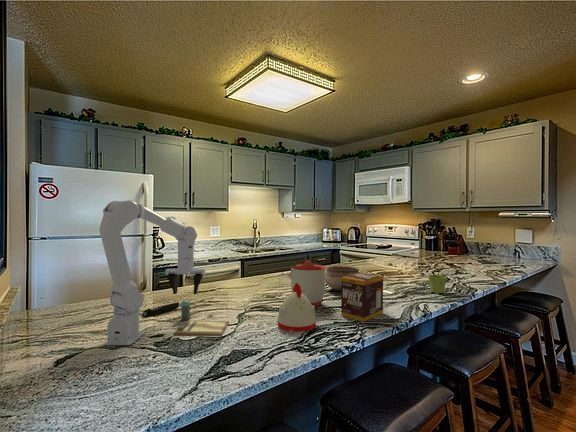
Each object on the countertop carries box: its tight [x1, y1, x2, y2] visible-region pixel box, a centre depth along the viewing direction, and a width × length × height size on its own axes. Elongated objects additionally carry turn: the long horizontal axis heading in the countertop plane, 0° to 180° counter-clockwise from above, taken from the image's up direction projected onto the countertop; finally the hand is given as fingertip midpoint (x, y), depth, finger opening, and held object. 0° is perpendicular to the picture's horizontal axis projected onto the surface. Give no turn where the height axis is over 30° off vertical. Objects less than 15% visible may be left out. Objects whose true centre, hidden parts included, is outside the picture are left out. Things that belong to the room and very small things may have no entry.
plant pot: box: [427, 274, 448, 294], centre depth 162 cm, size 9×9×9 cm
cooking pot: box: [325, 264, 360, 293], centre depth 164 cm, size 25×19×12 cm
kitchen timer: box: [277, 283, 317, 332], centre depth 113 cm, size 14×14×15 cm
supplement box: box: [340, 272, 384, 322], centre depth 125 cm, size 10×15×16 cm
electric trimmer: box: [141, 301, 180, 319], centre depth 126 cm, size 4×15×3 cm, turn 142°
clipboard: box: [173, 320, 230, 337], centre depth 108 cm, size 12×16×1 cm
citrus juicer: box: [287, 259, 326, 308], centre depth 139 cm, size 16×17×20 cm
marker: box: [180, 299, 191, 322], centre depth 117 cm, size 3×3×7 cm
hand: (185, 293), depth 117 cm, fingers open, 7 cm apart
